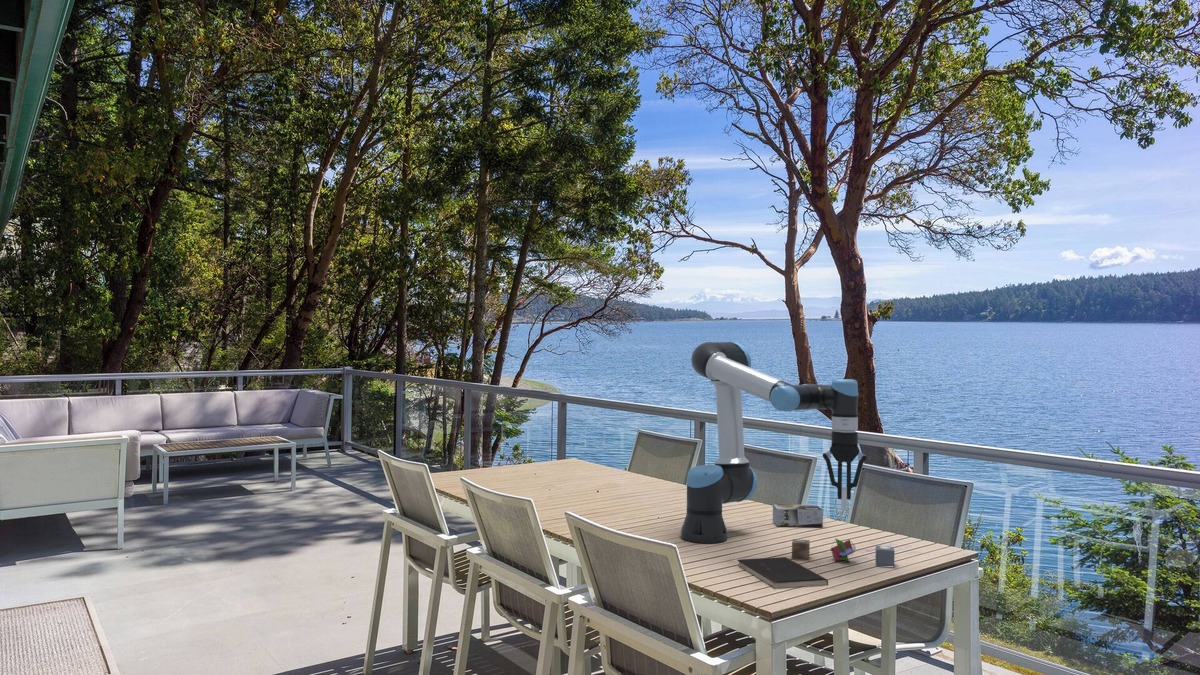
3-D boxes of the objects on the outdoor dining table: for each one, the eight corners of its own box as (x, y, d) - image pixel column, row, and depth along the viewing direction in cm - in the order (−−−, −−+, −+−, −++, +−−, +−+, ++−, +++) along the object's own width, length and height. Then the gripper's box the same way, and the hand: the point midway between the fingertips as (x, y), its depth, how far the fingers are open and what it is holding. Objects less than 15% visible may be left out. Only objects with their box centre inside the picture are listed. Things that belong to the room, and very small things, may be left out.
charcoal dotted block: (876, 566, 248) (876, 548, 248) (875, 562, 253) (875, 544, 253) (894, 568, 247) (894, 550, 247) (893, 563, 252) (893, 546, 252)
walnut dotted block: (791, 559, 255) (792, 541, 255) (792, 555, 259) (792, 538, 259) (808, 560, 253) (809, 543, 253) (809, 556, 258) (809, 539, 258)
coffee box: (776, 526, 298) (822, 527, 297) (776, 508, 298) (823, 509, 297) (772, 521, 307) (817, 522, 306) (772, 503, 307) (817, 504, 307)
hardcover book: (774, 590, 224) (774, 581, 224) (737, 567, 246) (737, 559, 246) (828, 587, 228) (828, 578, 228) (787, 564, 250) (787, 556, 250)
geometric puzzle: (832, 557, 248) (847, 535, 250) (820, 551, 255) (835, 529, 256) (849, 571, 250) (864, 549, 251) (837, 565, 257) (851, 543, 258)
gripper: (821, 431, 251) (821, 511, 251) (868, 432, 248) (867, 513, 248) (822, 429, 258) (821, 506, 258) (867, 430, 255) (866, 509, 255)
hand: (844, 510), depth 253 cm, fingers closed
